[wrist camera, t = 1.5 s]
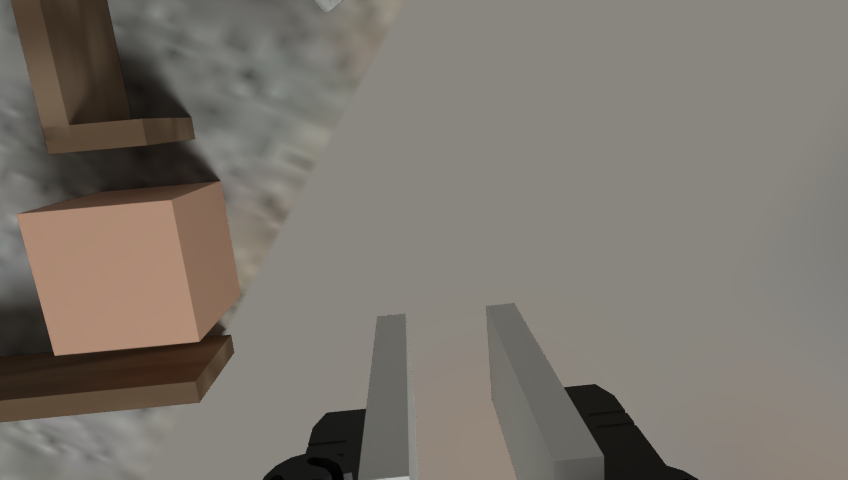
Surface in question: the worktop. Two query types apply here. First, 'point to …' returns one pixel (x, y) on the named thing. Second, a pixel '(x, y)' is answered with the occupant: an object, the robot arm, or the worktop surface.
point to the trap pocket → (71, 63)
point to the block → (132, 266)
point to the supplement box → (327, 4)
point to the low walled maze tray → (115, 369)
